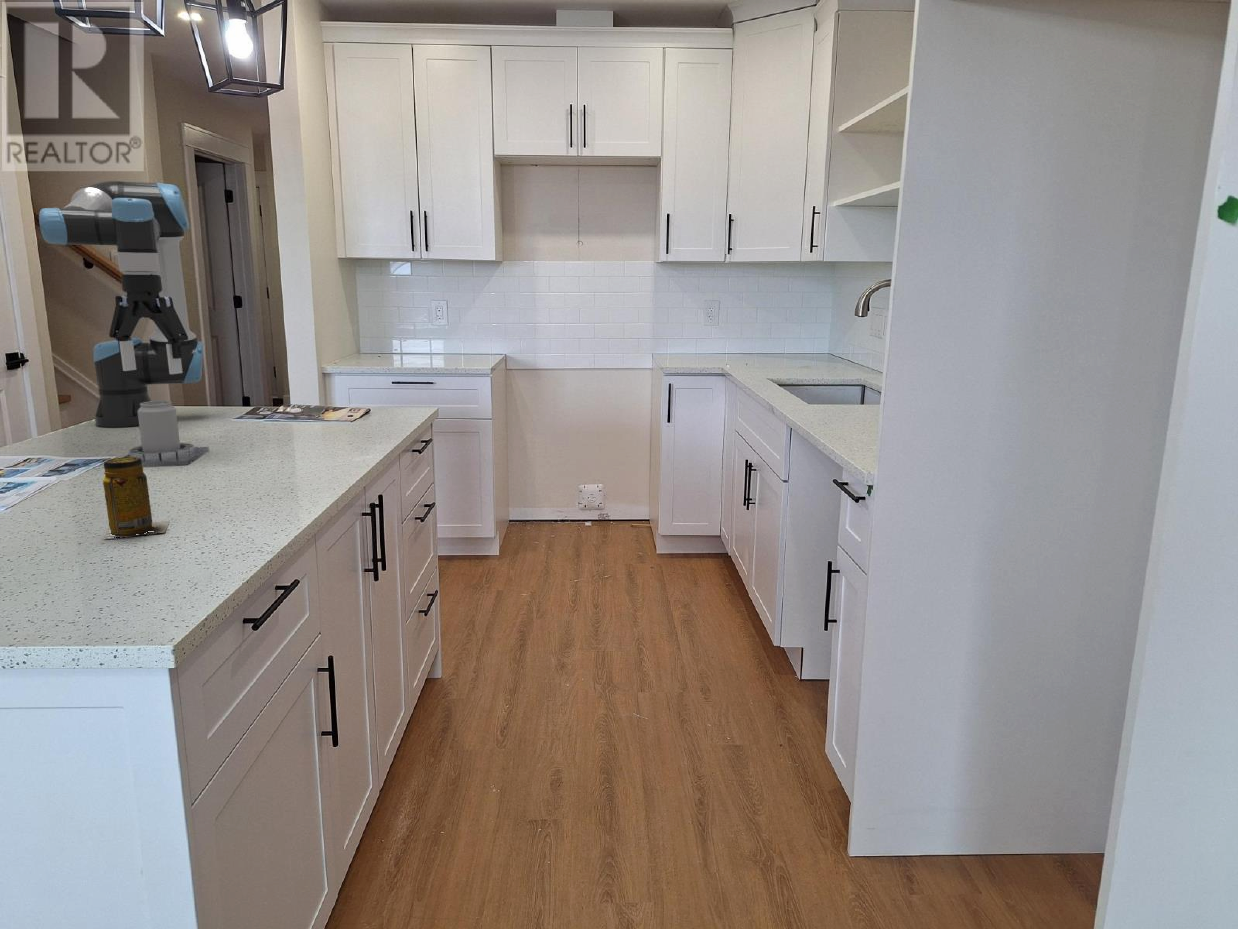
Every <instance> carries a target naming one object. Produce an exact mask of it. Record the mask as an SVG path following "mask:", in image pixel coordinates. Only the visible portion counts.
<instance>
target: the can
mask: <svg viewBox="0 0 1238 929" xmlns="http://www.w3.org/2000/svg"><path fill="white" fill-rule="evenodd" d="M172 403H173V402H172V401H170V400H151V401H150V402H143V403H141V404H140V405H141V407H140V408H139V410H138V419H139V425H138V426H139V427H138V428H139V433H140V440H141V441H140V442H141V446H142V450H143V452H147V453H151V452H167V451H174V450H179V449H181V448H180V442H181V441H180V433H179V431H180V430H179V425H178V424H179V423H178V415H177V408H176V407H175V406H174V405H173V404H172Z"/></svg>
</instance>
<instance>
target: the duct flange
mask: <svg viewBox="0 0 1238 929" xmlns="http://www.w3.org/2000/svg"><path fill="white" fill-rule="evenodd" d="M180 448H181V449H179V450H174V451H167V452H151V453H147V452H143V450H142V445H139V446H135V447H132V448H130V449H129V450H128V453H129V454H127V455H125V456H124V457H137V458H140V459H141V461H142V467H165V466H166V467H168V466H169V467H171V466H174V467H175V465H176V466H188V465H190V464H192V463H193V462H195V461H196V460H198V459H199V458H201V457H202V456H203V454H204V453H205V454H206V452H207V453H208V452H210V450H209V449H210V448H209V446H195V445H194V444H192V443H188V442H181V441H180ZM205 454H204V455H205ZM201 455H202V456H201ZM200 456H201V457H200ZM197 458H198V459H197ZM195 459H196V460H195ZM194 460H195V461H194ZM191 462H192V463H191Z"/></svg>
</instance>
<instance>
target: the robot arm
mask: <svg viewBox="0 0 1238 929" xmlns="http://www.w3.org/2000/svg"><path fill="white" fill-rule="evenodd" d="M182 195H183V194H182V193H181V190H180V189H179V187H178V186H177V185H174V184H169V183H161V182H149V181H148V182H145V181H144V182H141V181H119V180H109V181H101V182H97V183H92V184H89V185H86V186H84V187H81V188H80V189H78V190H77V191H76V192H74V193H73V194H72V196H71V199H70V203H68V204H67V205H65V206H63V208H58V207H47V208H46V207H45V208H44V207H43V208H42V209H40V211H39V215H38V221H39V228H40V232H41V235H42V238H43V240H44V241H45V242H46V243H48V244H52V245H53V244H54V245H61V246H66V245H69V246H70V245H77V246H78V245H81V246H84V245H85V246H86V245H87V246H88V245H89V246H92V245H93V246H116V248H117V249H116V251H117V261H118V268H119V269H118V271H120V272H122V273H123V274H121V275H120V282H121V289H122V292H123V293H126V295H116V296H115V298H114V299H115V308H114V312H113V317H112V320H111V325H110V329H109V333H108V335H109V337H110V338H111V339H113V338H114V340H109V341H104V342H103V341H102V342H99V343H97V344H95V345H94V346H93V363H94V369H95V372H96V374H95V375H96V380H97V389H98V396H99V397H98V398H99V399H98V402H97V407H96V410H95V413H94V414H95V416H94V421H95V423H94V424H95V426H97V427H100V428H102V427H103V428H125V427H127V428H128V427H137V426H139V419H138V410H139V408H140V407H141V405H140V404H141V403H143V402H150V401H152V399H151V397H150V396H149V392H148V391H149V390H148V385H168V384H169V385H171V384H172V385H174V384H175V385H177V384H182V385H184V384H190V383H191V384H193V383H198V382H199V381H200V380H202V376H203V360H204V356H203V355H204V343H203V342H202V341H200V340H197V335H196V333H195V332H193V331H191V330H190V322H189V316H188V306H187V299H186V291H185V283H184V275H183V266H182V258H181V251H180V242H181V241H182V240H183V239H184V237H185V231H188V230H190V222H189V218H188V213H187V208H186V206H185V201H184V199H183V198H184V197H183V196H182ZM142 318H147V319H148V318H149V320H152V321H153V328H154V330H153V332H152V333H150V335H149V342H143V339H142V338H140V337H131V336H132V335H133V332H134V330H136V329H135V328H136V327H137V325H138V322H139V321H140V319H142Z"/></svg>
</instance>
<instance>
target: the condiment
mask: <svg viewBox="0 0 1238 929" xmlns="http://www.w3.org/2000/svg"><path fill="white" fill-rule="evenodd" d="M103 469H104V471H103V472H104V473H103V474H104V475H105V476H104V478H103V480H102V485H103V489H104V497H105V503H106V512H107V518H108V519H107V520H108V527H109V531H111V533H107V534H112V535H115V536H110V535H109V536H106V535H105V537H104V538H103V540H109V539H110V540H111V539H113V538H108V537H115V538H114V539H117V538H116V537H120V538H119V539H121V538H122V537H125V538H132V537H137V536H141V535H142V536H143V535H144V536H146V535H155V534H163V533H166V532H167V530H168V528H169V524H170V520H166V521H165V520H164V521H154V522H153V515H152V509H151V508H152V507H151V501H150V494H149V484H148V478H147V475H146V474H145V473H144V466H142V461H141V459H140V458H137V457H125V456H123V457H114V458H109V459H107V460H105V461H104V462H103ZM109 531H108V532H109ZM148 531H154V532H148ZM146 532H147V534H144V533H146ZM136 534H140V535H136ZM122 539H123V538H122Z"/></svg>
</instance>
